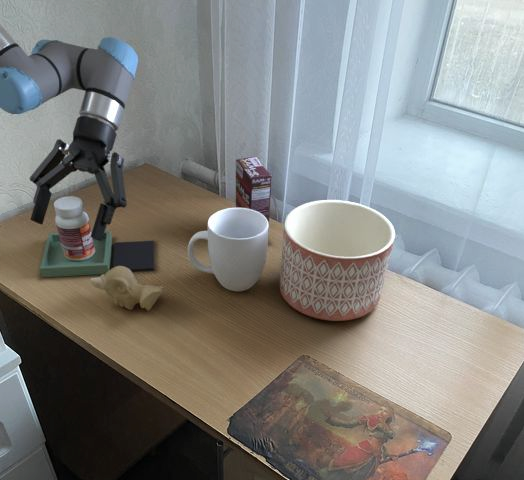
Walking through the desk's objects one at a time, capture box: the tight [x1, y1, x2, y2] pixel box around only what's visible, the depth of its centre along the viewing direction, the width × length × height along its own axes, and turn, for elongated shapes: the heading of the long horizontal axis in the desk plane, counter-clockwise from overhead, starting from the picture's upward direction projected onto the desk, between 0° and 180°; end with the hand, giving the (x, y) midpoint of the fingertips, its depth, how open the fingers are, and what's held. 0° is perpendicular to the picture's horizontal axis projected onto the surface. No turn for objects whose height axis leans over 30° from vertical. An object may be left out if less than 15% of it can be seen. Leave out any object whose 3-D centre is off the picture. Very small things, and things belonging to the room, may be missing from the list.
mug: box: [187, 207, 269, 292], centre depth 100 cm, size 15×11×13 cm
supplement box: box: [235, 156, 273, 234], centre depth 111 cm, size 9×5×16 cm, turn 22°
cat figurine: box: [90, 266, 165, 311], centre depth 96 cm, size 8×7×12 cm
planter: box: [279, 199, 396, 322], centre depth 98 cm, size 19×19×15 cm
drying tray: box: [39, 230, 113, 278], centre depth 108 cm, size 13×13×2 cm
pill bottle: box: [53, 195, 95, 261], centre depth 104 cm, size 6×6×11 cm
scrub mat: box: [112, 240, 155, 273], centre depth 109 cm, size 10×8×1 cm
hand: (65, 230), depth 102 cm, fingers open, 13 cm apart
